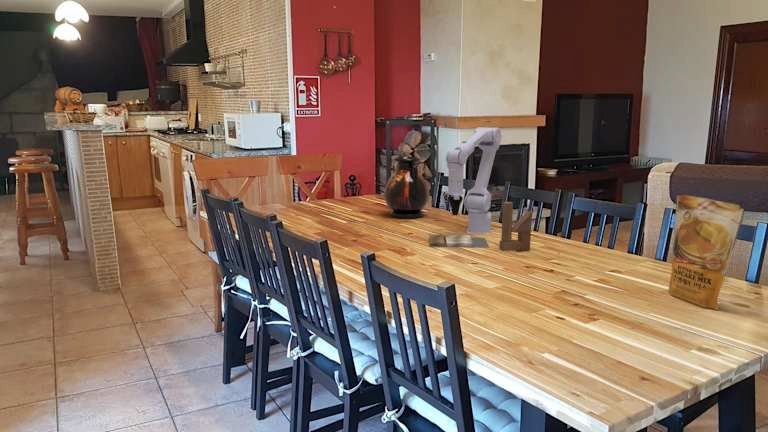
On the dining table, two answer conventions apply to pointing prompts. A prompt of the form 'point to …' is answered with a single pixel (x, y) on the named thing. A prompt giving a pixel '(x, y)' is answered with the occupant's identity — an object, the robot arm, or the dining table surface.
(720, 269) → the pancake mix bag
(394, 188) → the amphora vase
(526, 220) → the brown wooden upright frame
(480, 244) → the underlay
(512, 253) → the dining table surface
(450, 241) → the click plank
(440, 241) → the laid plank
